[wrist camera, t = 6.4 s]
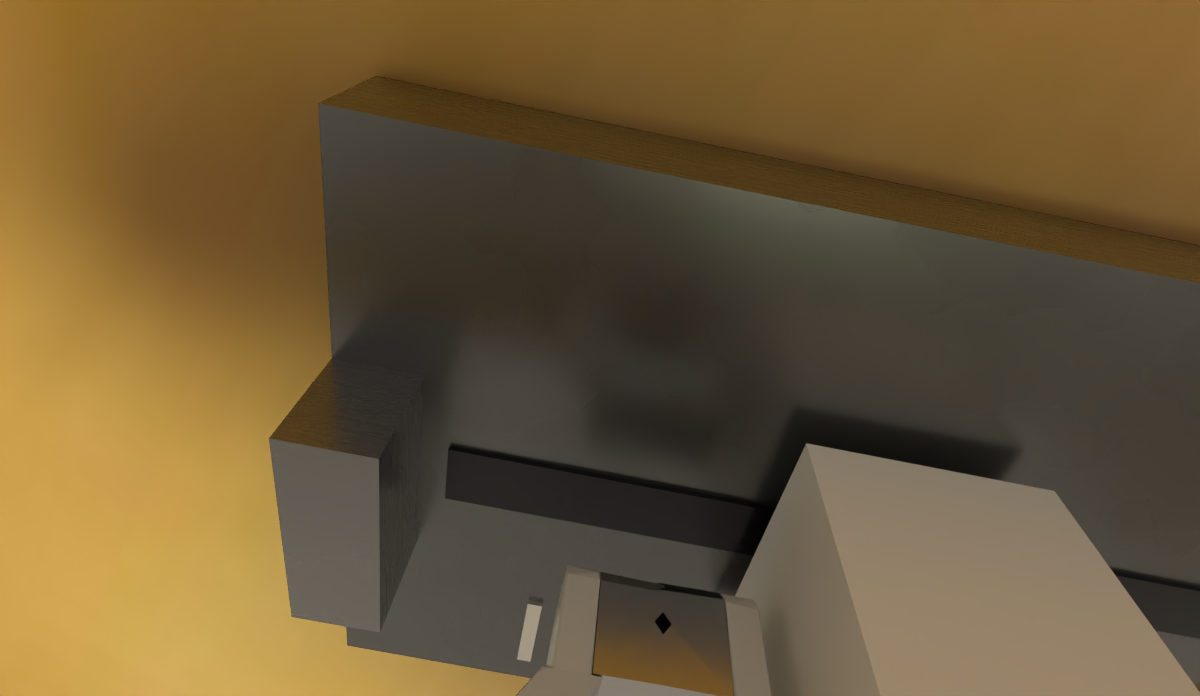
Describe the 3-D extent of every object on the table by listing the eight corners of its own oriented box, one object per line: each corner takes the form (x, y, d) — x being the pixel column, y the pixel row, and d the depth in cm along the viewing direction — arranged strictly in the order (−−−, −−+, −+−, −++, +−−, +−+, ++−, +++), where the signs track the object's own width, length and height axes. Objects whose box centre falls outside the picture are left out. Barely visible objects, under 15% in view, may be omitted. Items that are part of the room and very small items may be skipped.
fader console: (1809, 371, 11) (2337, 568, 7) (1276, 736, 17) (1428, 931, 14) (376, 76, 10) (231, 145, 7) (379, 572, 16) (306, 736, 13)
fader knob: (1054, 491, 10) (1260, 776, 7) (914, 670, 13) (1009, 939, 9) (806, 443, 10) (884, 709, 7) (716, 633, 13) (739, 894, 9)
